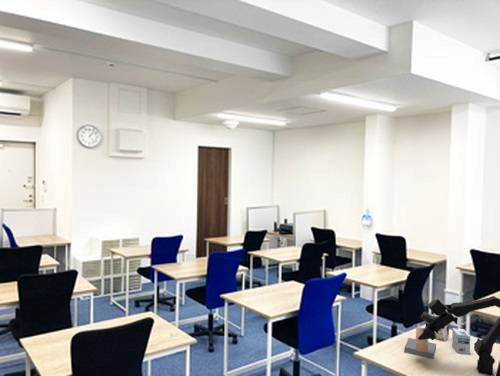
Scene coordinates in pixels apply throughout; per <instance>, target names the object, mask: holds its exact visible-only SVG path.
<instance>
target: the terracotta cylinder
mask: <svg viewBox="0 0 500 376" xmlns="http://www.w3.org/2000/svg"><path fill="white" fill-rule="evenodd" d="M424 328H425V327H416V328H415V339H416V350H418V351H420V352H427V351H428V342H429V339H423V340H419V339H418V337H419V336H420V335H421V334H422V333H423V332H424Z"/></svg>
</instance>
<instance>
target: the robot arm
mask: <svg viewBox="0 0 500 376" xmlns="http://www.w3.org/2000/svg"><path fill="white" fill-rule="evenodd" d="M427 307H428V308H429V309H430V311H431V312H432V313H433V314H434V313H435V314H436V315H440V316H438V317H434V315H431V314H430V313H428V312H426V311H423V313H422V314H421V316H420V319H421V320H422V321H425V327H423V328H424V332H423V333H422V334H421V335H420V336H419V337H418V339H419V340H423V339H428V340H432V341H435V340H436V339H435V338H436V333H438V332H439V330H441V329H444V328H445V326H447V325H448V324H449V325H450V324H452V322H453V323H454V324H455V325H458V320H459V318H461V317H464V316H467V315H468V314H470V313H471V312H474V311H479V310H483V309H487V308H492V307H496V308H499V309H500V298H498V297H497V296H496V295H495V296H494V295H492V296H489V297H486V298H481V299H477V300H473V301H468V302H463V301H462V302H453V303H450V304H444V303H443V302H441V300H440V299H439V298H436V299H434V300H432V301H430V302H429V303H428V305H427ZM435 332H436V333H435ZM499 338H500V316H498V318H497V319H496V321H495V322H494V324H493V325H492V326H491V328H490V329H489V331H488V332H487V334H486V335H485V336H484V337H483V338H482V339H480V338H479V337H478V338H477V340H476V342H474V343H473V345H474V346H473V349H474V352H475V353H476V355H477V356H478V359H477V361H476V362H477V364H476V365H477V366H476V369H477V371H478V372H477V373H480V374H484V375H489V376H492V375H493V376H494V364H495V363H496V359H495V358H494V357H493V355H491V354H492V353H493V348H494V345H495V343H496V342H497V340H498V339H499Z"/></svg>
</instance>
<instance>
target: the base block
mask: <svg viewBox="0 0 500 376" xmlns="http://www.w3.org/2000/svg"><path fill="white" fill-rule="evenodd" d="M436 350H437V343H435V342H434V343H433V342H429V341H428V351H427V352H420V351H418V350H416V338H412V337H408V338H407V341H406V342H405V345H404V353H406V354H410V355H415V356H419V357H422V358H428V359H431V360H434V358H435V354H436Z"/></svg>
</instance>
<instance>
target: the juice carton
mask: <svg viewBox="0 0 500 376" xmlns="http://www.w3.org/2000/svg"><path fill="white" fill-rule="evenodd" d="M433 314H434V315H433V317H438V316H440V315H436V314H435V313H434V312H433ZM435 333H436V332H435ZM449 335H450V324H448V325H447V326H445V328H444V329H441V330H439V332H438V333H436V338H435V339H434V340H439V341H442V342H446V341H447V340H448V339H449Z"/></svg>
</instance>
